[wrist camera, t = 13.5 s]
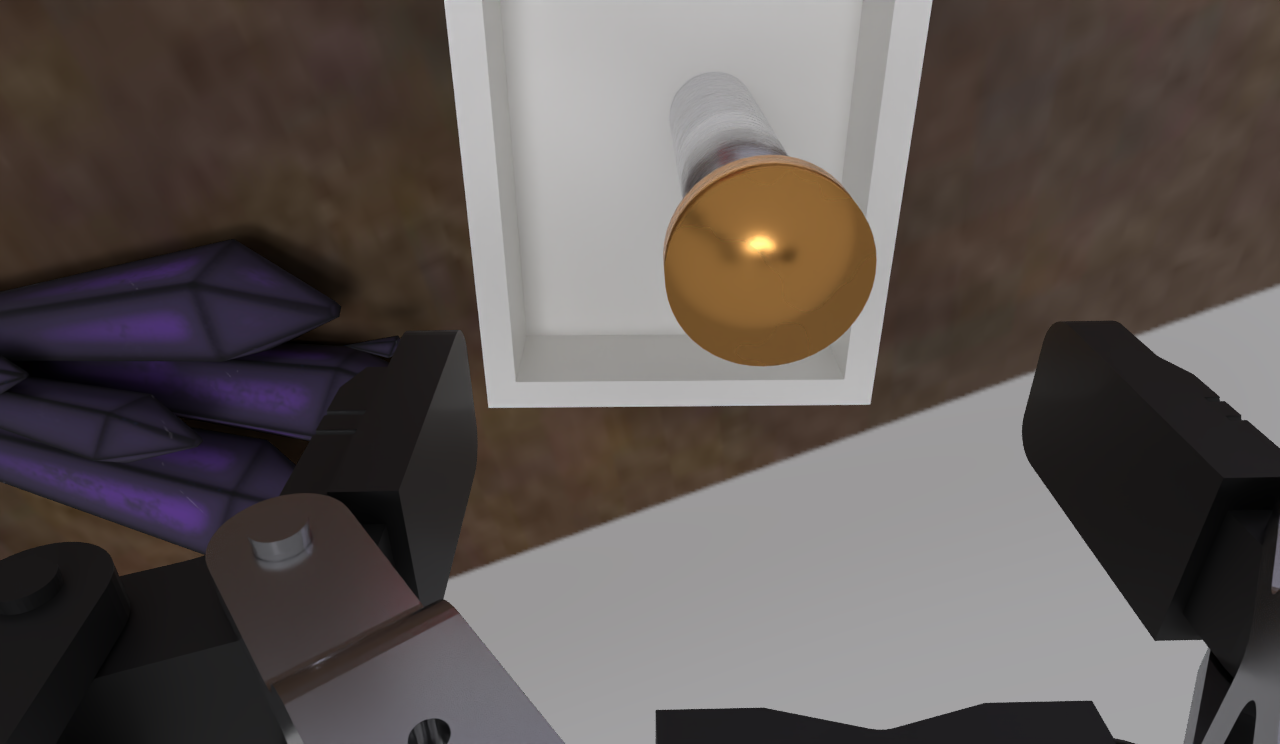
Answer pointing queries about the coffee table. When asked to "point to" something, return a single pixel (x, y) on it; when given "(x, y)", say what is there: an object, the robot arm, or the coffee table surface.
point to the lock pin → (758, 235)
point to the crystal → (166, 386)
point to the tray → (659, 181)
